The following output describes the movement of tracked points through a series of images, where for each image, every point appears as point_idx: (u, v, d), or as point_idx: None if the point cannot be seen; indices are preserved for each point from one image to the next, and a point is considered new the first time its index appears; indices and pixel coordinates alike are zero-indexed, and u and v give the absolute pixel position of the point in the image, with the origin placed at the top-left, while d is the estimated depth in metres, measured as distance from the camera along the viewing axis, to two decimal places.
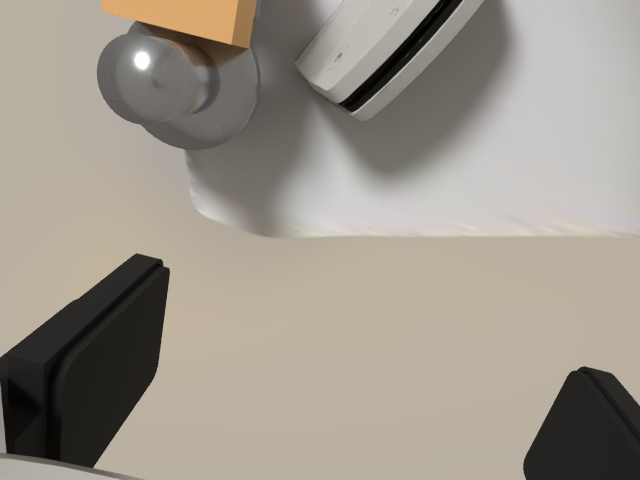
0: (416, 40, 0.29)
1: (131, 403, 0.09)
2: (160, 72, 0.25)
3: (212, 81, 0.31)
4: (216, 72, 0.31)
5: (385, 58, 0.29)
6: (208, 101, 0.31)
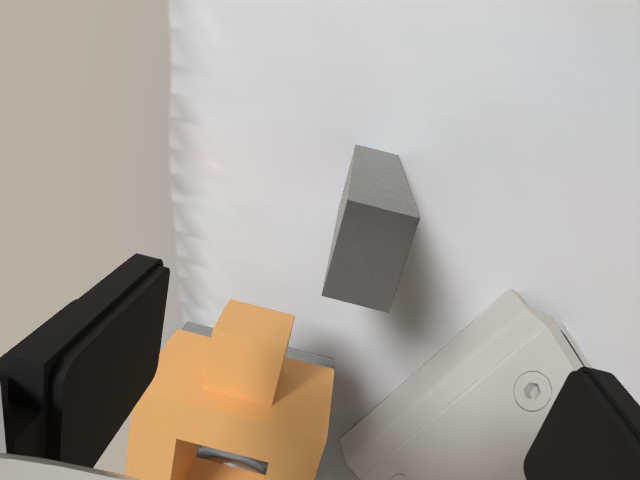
0: None
1: (131, 403, 0.09)
2: None
3: None
4: None
5: None
6: None
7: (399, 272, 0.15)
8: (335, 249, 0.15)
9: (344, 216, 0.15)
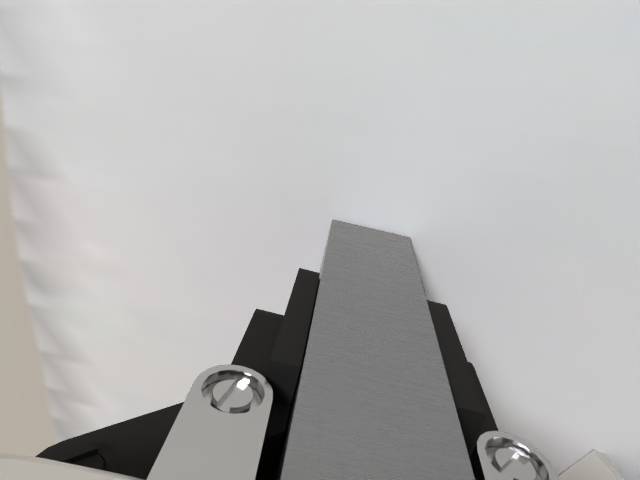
0: None
1: None
2: None
3: None
4: None
5: None
6: None
7: None
8: None
9: None
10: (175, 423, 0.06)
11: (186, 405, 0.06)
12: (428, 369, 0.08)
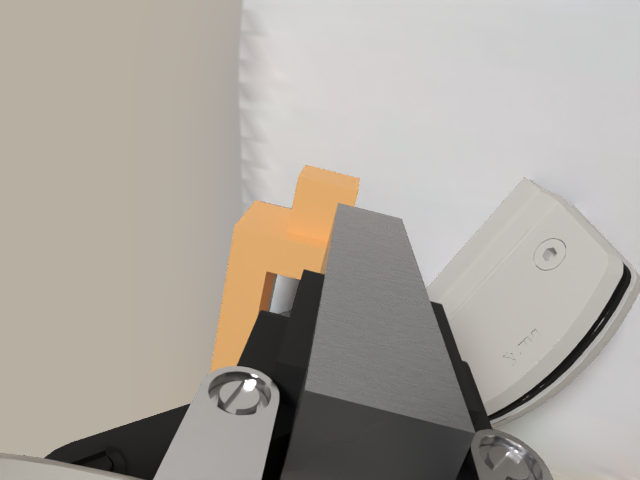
0: None
1: None
2: None
3: None
4: None
5: (505, 405, 0.28)
6: None
7: None
8: None
9: (299, 423, 0.06)
10: (182, 424, 0.06)
11: (193, 406, 0.06)
12: (414, 291, 0.10)
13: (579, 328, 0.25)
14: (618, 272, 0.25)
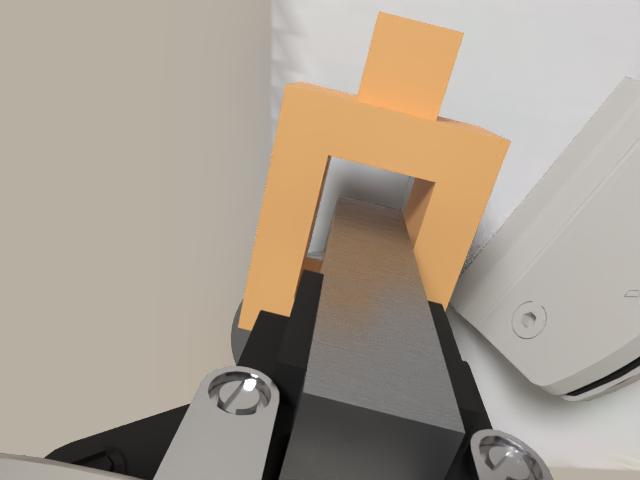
0: None
1: None
2: None
3: None
4: None
5: (630, 360, 0.21)
6: None
7: None
8: None
9: (297, 423, 0.07)
10: (182, 424, 0.06)
11: (193, 406, 0.06)
12: (412, 287, 0.11)
13: None
14: None
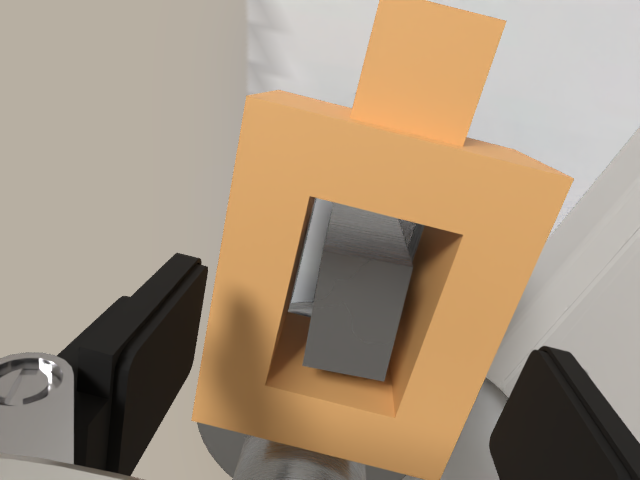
0: None
1: (172, 395, 0.10)
2: None
3: None
4: None
5: None
6: None
7: (393, 333, 0.13)
8: (313, 310, 0.12)
9: (321, 270, 0.12)
10: None
11: None
12: (390, 218, 0.16)
13: None
14: None
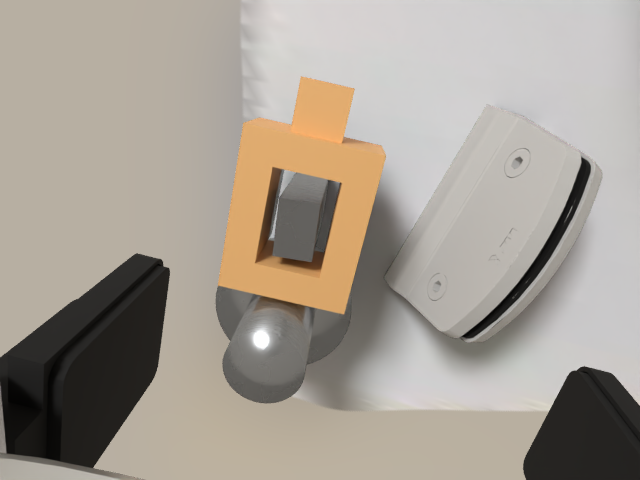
0: (521, 278, 0.30)
1: (131, 403, 0.09)
2: (285, 363, 0.26)
3: (313, 321, 0.32)
4: (313, 308, 0.32)
5: (496, 304, 0.30)
6: None
7: (314, 237, 0.27)
8: (276, 227, 0.27)
9: (278, 207, 0.26)
10: None
11: None
12: (320, 187, 0.30)
13: (550, 216, 0.28)
14: (576, 161, 0.28)
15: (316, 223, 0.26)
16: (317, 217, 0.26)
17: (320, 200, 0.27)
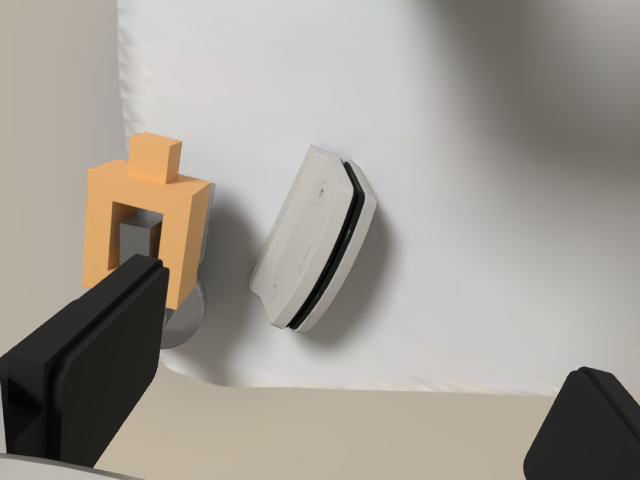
0: (321, 283, 0.39)
1: (131, 403, 0.09)
2: None
3: (167, 314, 0.41)
4: None
5: (301, 303, 0.39)
6: (164, 326, 0.42)
7: (148, 252, 0.36)
8: (120, 244, 0.36)
9: (120, 230, 0.35)
10: None
11: None
12: None
13: (329, 237, 0.37)
14: (348, 195, 0.37)
15: (148, 242, 0.36)
16: (148, 238, 0.35)
17: (154, 225, 0.36)
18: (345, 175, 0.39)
